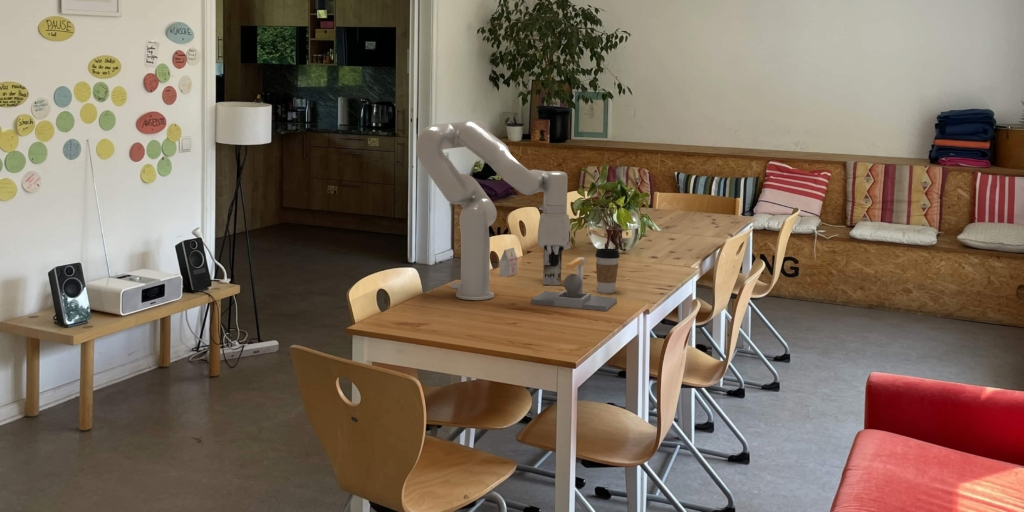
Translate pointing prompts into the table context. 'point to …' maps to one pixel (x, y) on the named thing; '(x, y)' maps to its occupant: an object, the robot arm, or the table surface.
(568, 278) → the light bulb
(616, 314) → the table surface
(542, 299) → the plate with square opening
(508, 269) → the red and white carton
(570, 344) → the table surface
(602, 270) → the coffee cup
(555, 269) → the coffee box
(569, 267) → the long wooden bar
